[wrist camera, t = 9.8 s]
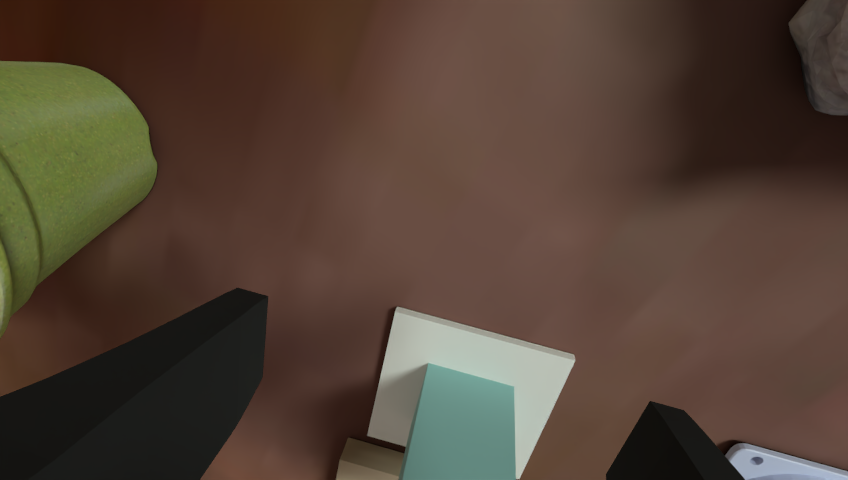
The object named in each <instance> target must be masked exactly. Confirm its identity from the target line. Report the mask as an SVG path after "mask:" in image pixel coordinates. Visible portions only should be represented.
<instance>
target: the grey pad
mask: <svg viewBox="0 0 848 480" xmlns="http://www.w3.org/2000/svg"><path fill="white" fill-rule="evenodd" d="M574 362H575V356H574V354H570V353H566V352H563V351H559V350H555V349H552V348H548V347H544V346H541V345H537V344H533V343H530V342H526V341H522V340H519V339H515V338H511V337H508V336H504V335H500V334H497V333H493V332H489V331H485V330H482V329H478V328H474V327H471V326H467V325H463V324H460V323H456V322H452V321H449V320H445V319H441V318H438V317H434V316H430V315H427V314H423V313H419V312H416V311H412V310H408V309H405V308H401V307H397V308H396V310H395V314H394V319H393V323H392V327H391V332H390V336H389V341H388V345H387V350H386V354H385V358H384V363H383V367H382V372H381V376H380V381H379V385H378V389H377V394H376V398H375V403H374V407H373V412H372V416H371V420H370V425H369V429H368V434H367V436H370V437H373V438H377V439H380V440H384V441H387V442H391V443H394V444H398V445H401V446H405V447H406V444H407V440H408V436H409V431H410V427H411V423H412V419H413V416H414V412H415V409H416V405H417V402H418V398H419V395H420V391H421V388H422V384H423V380H424V377H425V373H426V370H427V366H428V363H431V364H434V365H438V366H441V367H445V368H449V369H452V370H456V371H460V372H463V373H467V374H470V375H474V376H478V377H481V378H485V379H488V380H492V381H496V382H499V383H503V384H507V385H510V386H514V407H515V462H516V478H517V479H520V477H521V474H522V472H523V470H524V468H525V466H526V464H527V462H528V460H529V458H530V455H531V453H532V451H533V449H534V447H535V445H536V443H537V441H538V439H539V436H540V434H541V432H542V430H543V428H544V426H545V424H546V422H547V420H548V417H549V415H550V413H551V411H552V409H553V407H554V405H555V403H556V400H557V398H558V396H559V394H560V392H561V390H562V388H563V386H564V384H565V381H566V379H567V377H568V375H569V373H570V371H571V369H572V367H573V365H574Z"/></svg>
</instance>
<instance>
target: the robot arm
mask: <svg viewBox="0 0 848 480" xmlns="http://www.w3.org/2000/svg"><path fill="white" fill-rule="evenodd" d="M267 306H268V296H265V295H262V294H258V293H255V292H251V291H247V290H244V289H240V288H236V289H234V290H232V291H229V292H227V293H225V294H223V295H221V296H219V297H217V298H215V299H213V300H211V301H209V302H207V303H205V304H203V305H201V306H200V307H198V308H196V309H194V310H192V311H190V312H188V313H186V314H184V315H182V316H180V317H178V318H176V319H174V320H172V321H170V322H168V323H166V324H164V325H162V326H160V327H158V328H156V329H154V330H152V331H150V332H148V333H146V334H144V335H141V336H139V337H137V338H135V339H133V340H131V341H129V342H127V343H125V344H123V345H121V346H118V347H116V348H114V349H112V350H110V351H107V352H105V353H103V354H101V355H98V356H96V357H94V358H92V359H89V360H87V361H85V362H83V363H80V364H78V365H76V366H74V367H71V368H69V369H67V370H65V371H62V372H60V373H58V374H56V375H53V376H51V377H49V378H46V379H44V380H41V381H39V382H37V383H34V384H32V385H29V386H27V387H24V388H22V389H19V390H17V391H14V392H11V393H9V394H6V395H4V396H1V397H0V480H200V478H201V477H202V476H203V474H204V473H205V471H206V470H207V468H208V467H209V465H210V464H211V463H212V461H213V460H214V458H215V457H216V455H217V454H218V452H219V451H220V449H221V448H222V447H223V445H224V444H225V442H226V441H227V439H228V438H229V436H230V435H231V433H232V432H233V430H234V429H235V427H236V426H237V424H238V422H239V421H240V419H241V417H242V415H243V413H244V411H245V410H246V408H247V406H248V404H249V402H250V400H251V398H252V396H253V395H254V393H255V391H256V389H257V387H258V385H259V383H260V381H261V379H262V377H263V363H264V349H265V335H266V320H267ZM606 480H848V471H845V470H841V469H837V468H834V467H830V466H826V465H823V464H819V463H816V462H812V461H808V460H805V459H801V458H797V457H794V456H790V455H787V454H783V453H779V452H776V451H772V450H768V449H765V448H761V447H758V446H754V445H750V444H746V443H739V444H736V445H734V446H732V447H731V448H730V450H729V451H728V452H727V454H726V455H724V454H723V453H722V452H721V451H720V450H719V448H718V447H717V446H716V445H715V444H714V443H713V442H712V440H711V439H710V438H709V437H708V436H707V435H706V434H705V432H704V431H703V430H702V429H701V428H700V427H699V426H698V425H697V424H696V423H695V421H694V420H693V419H692V418H691V417H690V416H689V415H688V414H687V413H686V412H685V411H684V410H681V409H677V408H674V407H670V406H666V405H663V404H659V403H655V402H652V401H650V402H649V404H648V405H647V407H646V409H645V410H644V412H643V414H642V415H641V417H640V419H639V420H638V422H637V424H636V425H635V427H634V429H633V430H632V432H631V434H630V435H629V437H628V439H627V440H626V442H625V444H624V445H623V447H622V449H621V450H620V452H619V454H618V455H617V457H616V459H615V460H614V462H613V464H612V465H611V467H610V469H609V470H608V472H607V474H606Z"/></svg>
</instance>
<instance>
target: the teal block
mask: <svg viewBox="0 0 848 480" xmlns="http://www.w3.org/2000/svg"><path fill="white" fill-rule="evenodd" d="M398 480H516V462H515V407H514V386H510V385H507V384H503V383H499V382H496V381H492V380H488V379H485V378H481V377H478V376H474V375H470V374H467V373H463V372H460V371H456V370H452V369H449V368H445V367H441V366H438V365H434V364H431V363H428V366H427V370H426V373H425V377H424V380H423V384H422V388H421V391H420V395H419V398H418V402H417V405H416V409H415V412H414V416H413V419H412V423H411V427H410V431H409V436H408V440H407V444H406V449H405V453H404V457H403V462H402V466H401V470H400V474H399V479H398Z"/></svg>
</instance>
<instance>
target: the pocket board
mask: <svg viewBox="0 0 848 480" xmlns="http://www.w3.org/2000/svg"><path fill="white" fill-rule="evenodd" d="M403 457H404V453H401V452H398V451H394V450H391V449H387V448H384V447H380V446H377V445H373V444H370V443H366V442H363V441H359V440H356V439H352V438H349V437H348V439H347V441H346V444H345V447H344V450H343V452H342V455H341V458H340V461H339V466H338V471H337V477H336V480H398V479H399V474H400V470H401V466H402V462H403Z"/></svg>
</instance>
